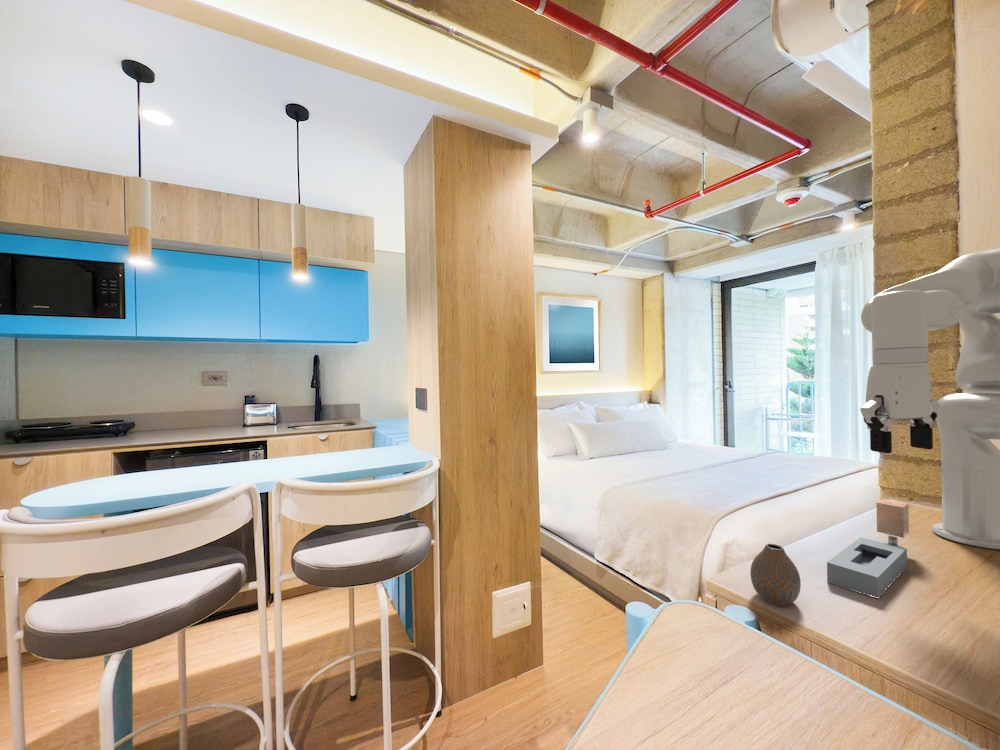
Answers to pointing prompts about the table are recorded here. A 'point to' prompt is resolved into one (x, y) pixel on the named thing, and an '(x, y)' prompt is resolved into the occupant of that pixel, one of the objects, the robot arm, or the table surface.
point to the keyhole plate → (867, 566)
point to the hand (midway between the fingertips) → (901, 450)
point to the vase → (775, 576)
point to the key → (893, 519)
